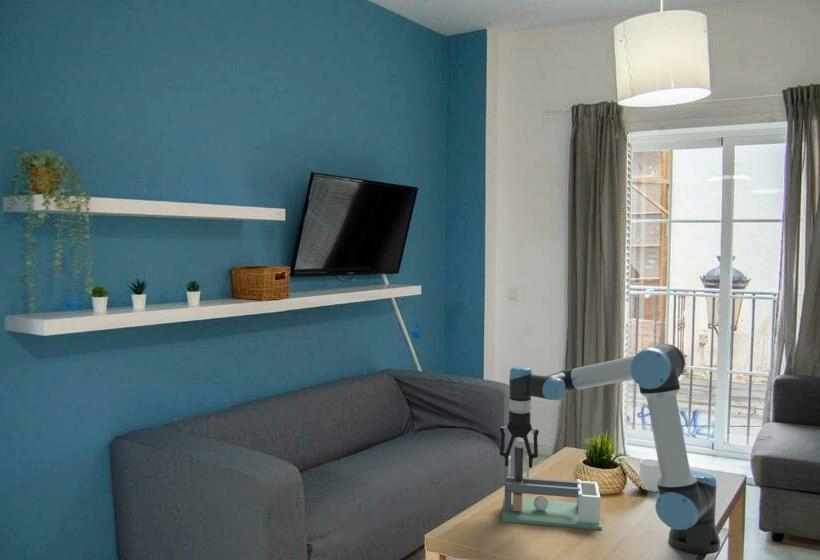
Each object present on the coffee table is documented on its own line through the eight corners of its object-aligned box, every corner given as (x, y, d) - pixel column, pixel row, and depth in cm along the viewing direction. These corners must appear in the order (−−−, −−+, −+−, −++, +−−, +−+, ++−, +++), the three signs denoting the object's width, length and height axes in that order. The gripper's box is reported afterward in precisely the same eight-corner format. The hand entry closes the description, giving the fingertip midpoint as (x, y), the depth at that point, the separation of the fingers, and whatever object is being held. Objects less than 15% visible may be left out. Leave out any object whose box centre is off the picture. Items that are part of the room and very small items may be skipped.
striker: (521, 511, 245) (522, 451, 244) (512, 510, 246) (514, 451, 244) (522, 500, 255) (523, 443, 254) (514, 500, 256) (515, 442, 254)
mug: (657, 482, 282) (658, 456, 281) (673, 488, 274) (674, 462, 274) (634, 486, 277) (635, 460, 276) (650, 493, 269) (651, 467, 268)
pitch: (601, 529, 236) (602, 497, 235) (501, 521, 242) (502, 489, 241) (597, 507, 255) (598, 477, 255) (505, 499, 261) (505, 470, 261)
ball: (548, 513, 246) (548, 499, 246) (533, 512, 247) (533, 498, 247) (548, 508, 251) (548, 494, 251) (533, 507, 252) (533, 493, 252)
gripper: (546, 409, 250) (545, 474, 252) (493, 406, 254) (492, 470, 255) (547, 415, 243) (545, 481, 244) (492, 412, 246) (490, 477, 248)
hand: (518, 475), depth 250 cm, fingers open, 6 cm apart
